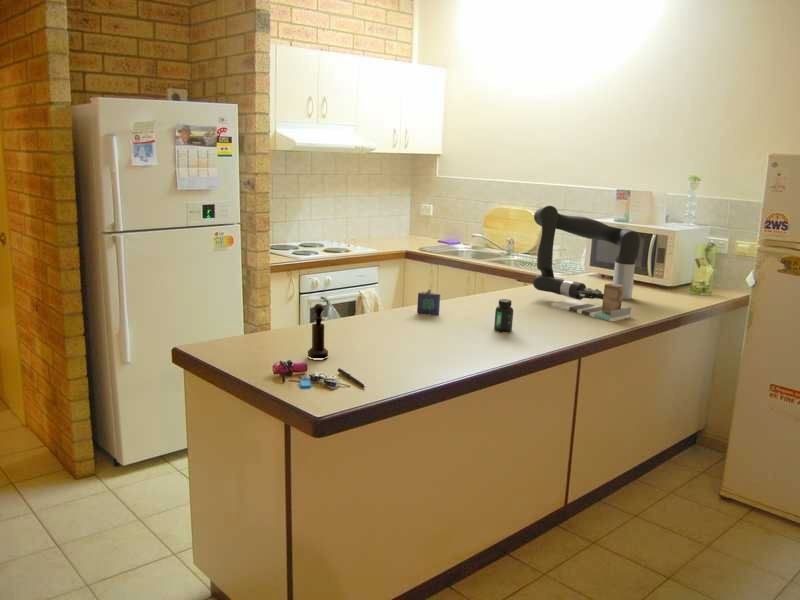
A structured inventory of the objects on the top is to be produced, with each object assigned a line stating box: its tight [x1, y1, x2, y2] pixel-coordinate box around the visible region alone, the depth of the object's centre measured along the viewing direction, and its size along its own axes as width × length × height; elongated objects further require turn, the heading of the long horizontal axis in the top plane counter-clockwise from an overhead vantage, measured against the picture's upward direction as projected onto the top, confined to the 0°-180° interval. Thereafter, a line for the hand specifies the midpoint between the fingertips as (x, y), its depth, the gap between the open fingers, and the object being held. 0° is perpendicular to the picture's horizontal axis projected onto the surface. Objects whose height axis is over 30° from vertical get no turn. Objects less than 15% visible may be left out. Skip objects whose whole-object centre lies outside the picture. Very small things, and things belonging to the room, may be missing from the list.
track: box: [550, 299, 632, 322], centre depth 304 cm, size 14×32×4 cm, turn 41°
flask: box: [416, 288, 441, 316], centre depth 285 cm, size 9×3×11 cm, turn 87°
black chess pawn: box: [307, 303, 329, 358], centre depth 221 cm, size 7×6×18 cm
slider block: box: [601, 282, 624, 314], centre depth 294 cm, size 5×6×12 cm
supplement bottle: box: [493, 298, 514, 333], centre depth 265 cm, size 7×7×12 cm
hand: (606, 297), depth 297 cm, fingers closed
